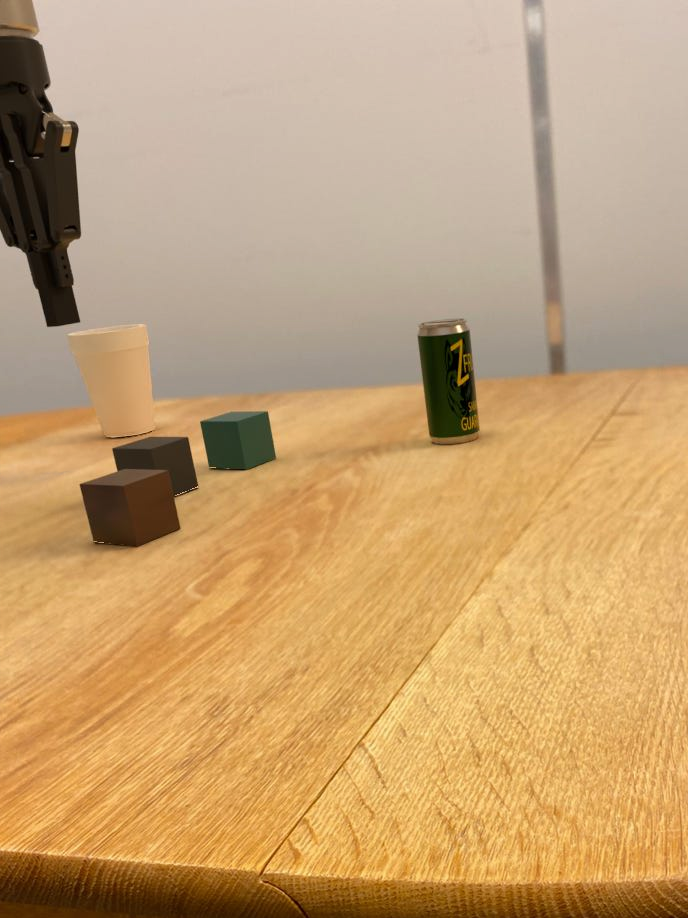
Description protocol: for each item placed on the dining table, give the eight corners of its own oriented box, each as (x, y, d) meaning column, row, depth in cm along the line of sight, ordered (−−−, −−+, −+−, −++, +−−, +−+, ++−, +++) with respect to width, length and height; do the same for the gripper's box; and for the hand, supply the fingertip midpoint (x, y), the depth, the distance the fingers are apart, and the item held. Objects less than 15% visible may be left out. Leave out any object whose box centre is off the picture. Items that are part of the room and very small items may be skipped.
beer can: (421, 445, 111) (407, 327, 106) (441, 434, 115) (428, 320, 111) (469, 444, 109) (456, 323, 104) (487, 433, 113) (476, 316, 109)
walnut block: (93, 543, 87) (79, 483, 86) (138, 525, 91) (124, 468, 90) (137, 546, 85) (123, 485, 83) (180, 528, 89) (168, 469, 87)
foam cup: (135, 440, 132) (111, 332, 127) (77, 442, 135) (51, 337, 130) (181, 424, 140) (160, 322, 135) (124, 426, 143) (102, 326, 138)
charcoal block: (123, 500, 101) (111, 448, 99) (161, 486, 105) (150, 436, 103) (162, 502, 99) (150, 448, 97) (198, 488, 103) (188, 436, 101)
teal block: (209, 469, 111) (199, 421, 109) (240, 457, 115) (231, 411, 113) (245, 470, 108) (236, 421, 107) (276, 458, 112) (268, 411, 111)
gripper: (-92, 50, 91) (-15, 333, 100) (9, 23, 85) (81, 327, 94) (-18, 56, 97) (48, 322, 106) (81, 30, 91) (142, 315, 100)
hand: (63, 324), depth 100 cm, fingers closed
